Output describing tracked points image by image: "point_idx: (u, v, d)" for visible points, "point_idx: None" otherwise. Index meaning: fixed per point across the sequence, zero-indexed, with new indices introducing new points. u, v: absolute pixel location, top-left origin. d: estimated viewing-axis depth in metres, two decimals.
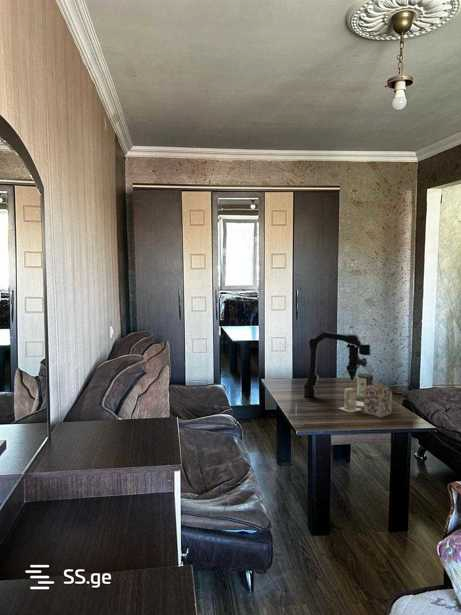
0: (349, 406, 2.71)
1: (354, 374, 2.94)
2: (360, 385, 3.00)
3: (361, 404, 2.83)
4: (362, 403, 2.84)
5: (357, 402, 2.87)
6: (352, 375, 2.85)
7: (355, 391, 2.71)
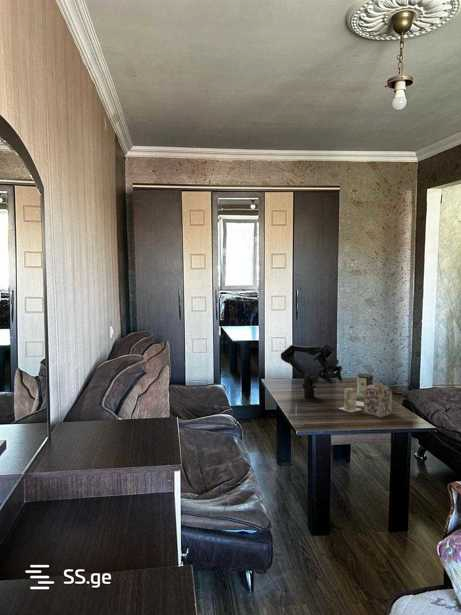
0: (349, 406, 2.71)
1: (340, 378, 2.87)
2: (360, 385, 3.00)
3: (361, 404, 2.83)
4: (362, 403, 2.84)
5: (357, 402, 2.87)
6: (328, 379, 2.82)
7: (355, 391, 2.71)
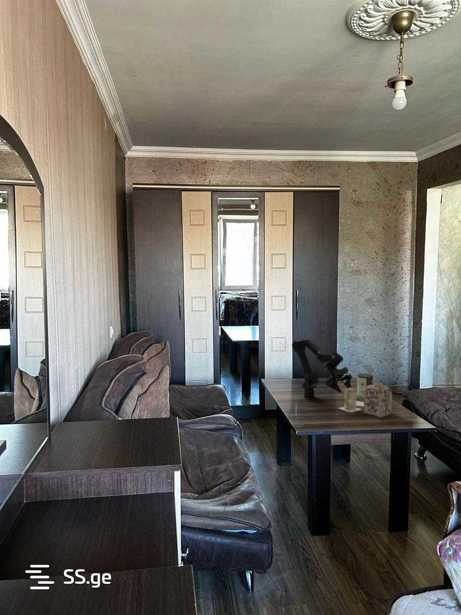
0: (349, 406, 2.71)
1: None
2: (360, 385, 3.00)
3: (361, 404, 2.83)
4: (362, 403, 2.84)
5: (357, 402, 2.87)
6: (337, 388, 2.74)
7: (355, 391, 2.71)
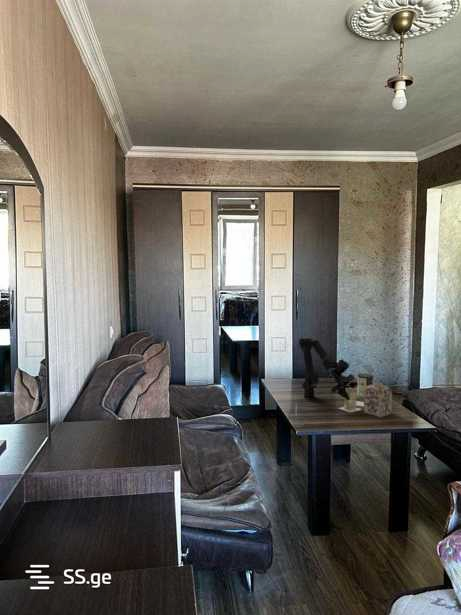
0: (349, 406, 2.71)
1: None
2: (360, 385, 3.00)
3: (361, 404, 2.83)
4: (362, 403, 2.84)
5: (357, 402, 2.87)
6: (345, 395, 2.71)
7: (355, 391, 2.71)
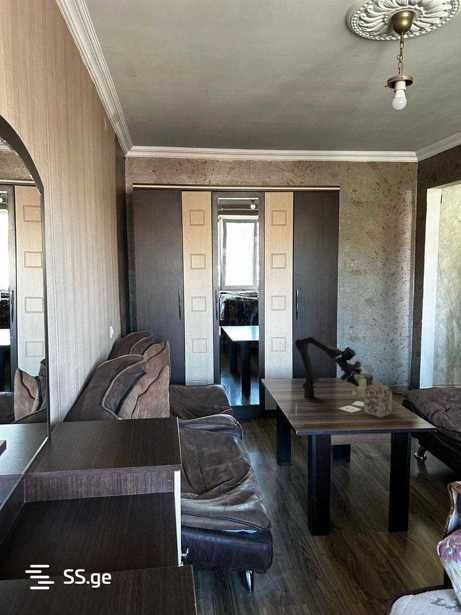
0: (358, 392, 2.76)
1: None
2: None
3: (361, 404, 2.83)
4: (362, 403, 2.84)
5: (357, 402, 2.87)
6: (354, 382, 2.76)
7: (363, 377, 2.77)
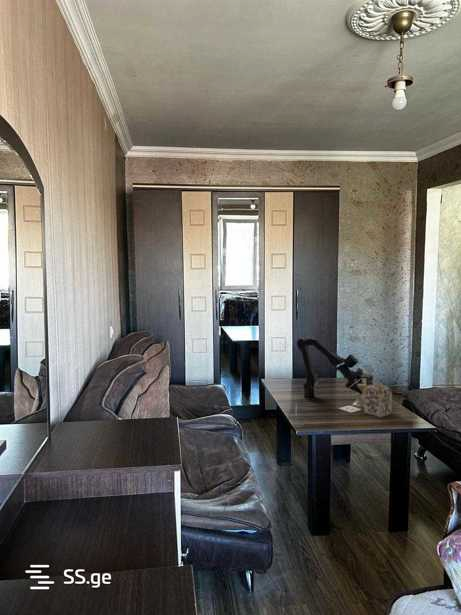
0: (362, 401, 2.80)
1: None
2: None
3: None
4: None
5: None
6: (357, 389, 2.79)
7: (366, 386, 2.83)
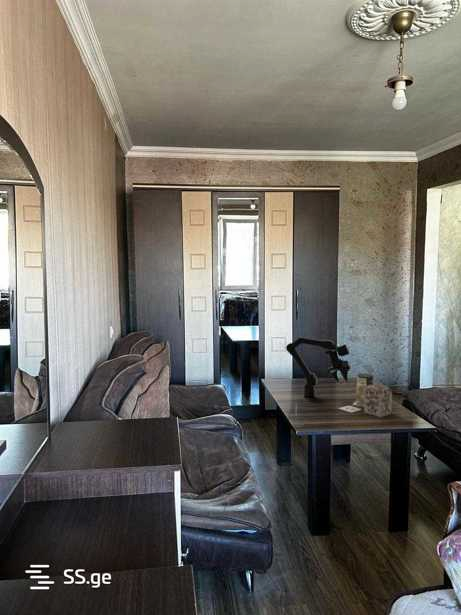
0: (362, 401, 2.80)
1: (337, 379, 2.98)
2: None
3: None
4: None
5: None
6: (346, 376, 2.89)
7: (366, 386, 2.83)
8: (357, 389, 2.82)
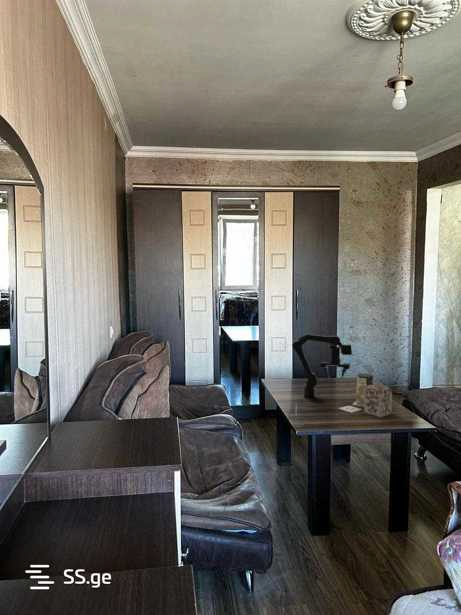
0: (362, 401, 2.80)
1: (328, 375, 3.00)
2: None
3: None
4: None
5: None
6: (343, 374, 2.96)
7: (366, 386, 2.83)
8: (357, 389, 2.82)
